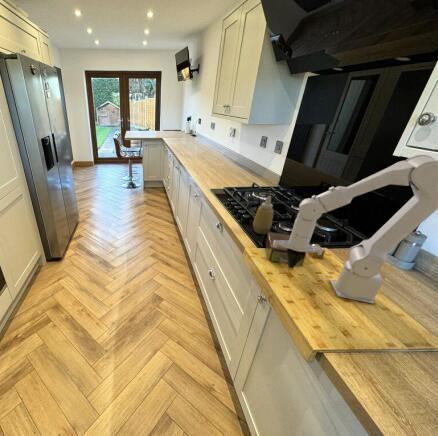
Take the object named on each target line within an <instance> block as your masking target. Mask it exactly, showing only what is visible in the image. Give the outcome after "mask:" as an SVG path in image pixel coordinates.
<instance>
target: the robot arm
mask: <svg viewBox="0 0 438 436" xmlns="http://www.w3.org/2000/svg"><path fill="white" fill-rule="evenodd" d="M388 185H394V186H395V185H396V186H406V187H407V186H408V187H409V186H410V187H411V189H412V192H413V196H412V197H411V198H410V199H409V200H408V201H407V202H406V203H405V204H404V205H402V207H401V208H400V209H399V210H397V212H395V214H393V215H392V216H391V218H389V220H388V221H386V222H385V224H383V225H382V226H381V227H380V228H379V229H378V230H377V231H376V232H375V233H374V234H373V235H372V236H371V237H369V239H363V240H362V241H361V242H360V243H358V244H356V245H353V246H351V247H350V248H349V249H348V252H347V256H348V258H349V259H348V260H347V261H345V263H344V264H343V267H342V269H341V271H340V273H339V275H338V277H337V279H336V280H334V279H330V280H329V282H330V284H331V286H332V288H333V289H334V292H335V293H336V295H337V296H338V297H340V298H345V299H349V300H353V301H359V302H364V303H368V304H374V303H375V302H374V299H375V298H376V297H377V294H378V292H379V291H380V290H381V287H382V284H383V278H382V275H381V274H380V272H381V270H382V269H381V268H382V266H383V265H385V263H386V262H387V260H388V256H389V253H390V251H392V250H394V248H395V247H396V246H397V245H398V244H400V243H401V242H402V241H403V240H404V239H405V238H407V237H408V236H409V235H410V234H411V233H412V232H413V231H414V230H416V229H417V228H418V227H420V226H421V224H422V223H424V222H425V221H426V220H427V219H428V218H429V217H431V216H432V215H433V214H434V213H435V212H436V211H437V210H438V159H435V157H432V156H431V155H427V154H417V155H413V156H410V157H409V158H407V159H405V160H404V159H403V160H401V161H397V162H396V163H394V164H392V165H390V166H388V167H386V168H384V169H382V170H380V171H378V172H375V173H374V174H371V175H369V176H367V177H365V178H362V179H361V180H359V181H357V182H355V183H352V184H350V185H348V186H342V185H337V186H336V187H335V186H334V185H332V186H331V187H329V188H328V190H327V191H324V192H322V193H320V194H318V195H315V194H313V195H312V196H311V198H310V197H308V198H304V199H303V200H302V201H300V203H298V213H297V215H296V218H295V220H294V223H293V227H292V229H291V233H290V235H291V236H290V239H289V240H274V242H273V247H276V248H277V247H281V248H287V253H288V265H287V267H288V268H289V269H294V268H295V267H296V266H295V265H296V264H297V263H298V262H299V261H300V260H301V259H303V258H305V259H306V256H307V253H311V254H313V253H317V254H318V255H322V252H323V250H324V249H323V247H321V246H320V247H317V246H313V244H310V243H311V239H312V236H313V234H314V231H315V229H316V225H317V220H319V219H320V218H321V217H322V216H323V214H324V213H325V214H326V213H328V212H331V211H334V210H335V209H338V208H342V207H343V206H344V207H345V206H347V205H349V204H351V202H352V200H353V199H354V198H355V197H358V196H361V195H363V194H366V193H369V192H371V191H375V190H378V189H380V188H383V187H386V186H388ZM305 252H306V253H305Z"/></svg>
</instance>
